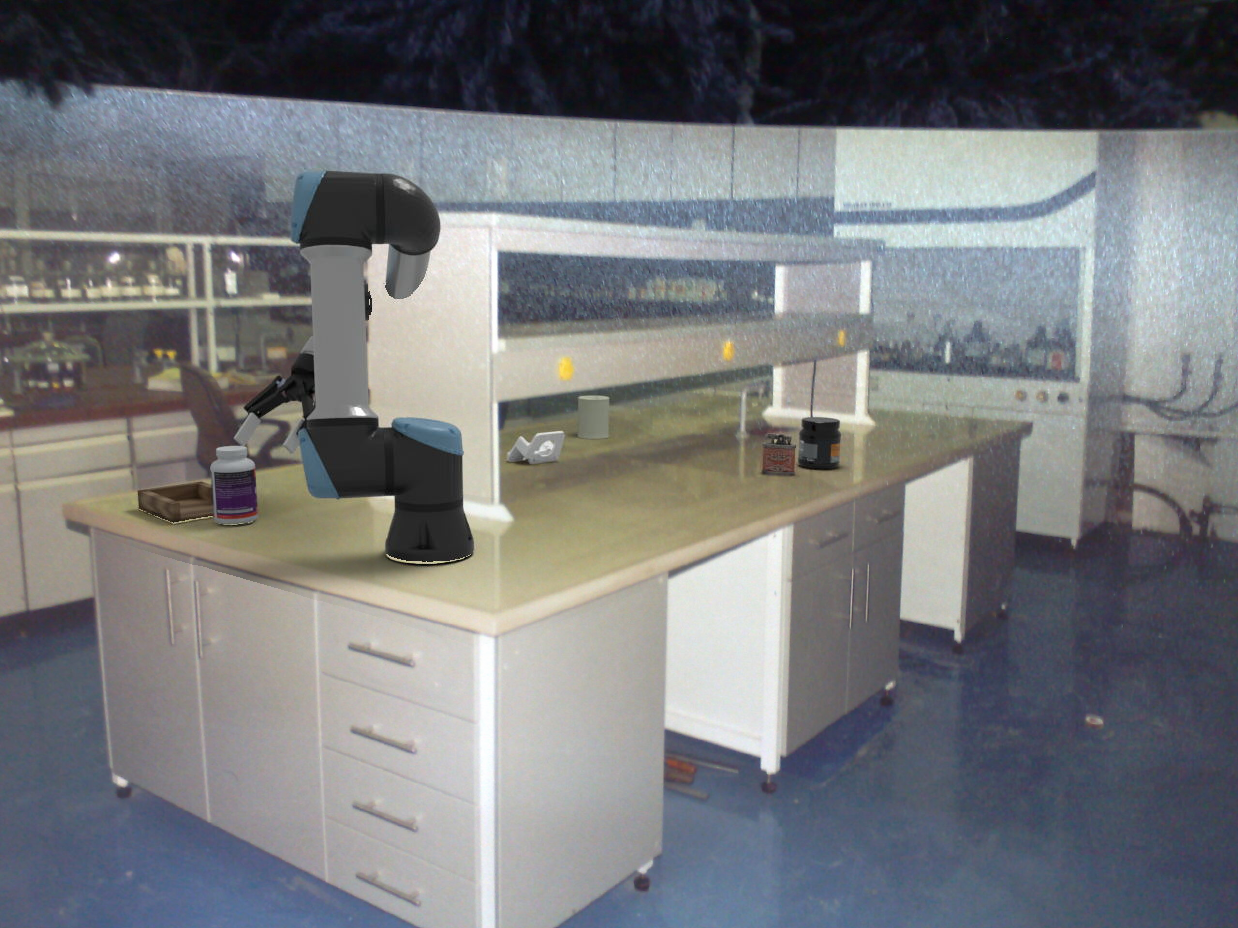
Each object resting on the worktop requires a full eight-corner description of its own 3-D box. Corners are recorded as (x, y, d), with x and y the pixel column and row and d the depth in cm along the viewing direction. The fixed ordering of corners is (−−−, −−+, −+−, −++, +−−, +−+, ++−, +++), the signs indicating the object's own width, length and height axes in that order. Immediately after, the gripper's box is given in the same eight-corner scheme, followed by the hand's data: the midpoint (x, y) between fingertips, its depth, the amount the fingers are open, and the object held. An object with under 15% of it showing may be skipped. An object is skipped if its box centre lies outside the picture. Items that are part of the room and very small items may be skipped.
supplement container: (846, 466, 265) (849, 419, 262) (826, 472, 257) (829, 424, 254) (810, 460, 271) (812, 415, 269) (789, 466, 263) (791, 419, 261)
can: (585, 440, 297) (586, 398, 295) (572, 435, 306) (572, 394, 303) (614, 438, 302) (615, 397, 299) (600, 433, 310) (600, 393, 307)
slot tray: (238, 513, 206) (237, 493, 205) (173, 524, 197) (171, 503, 196) (202, 500, 217) (201, 481, 216) (138, 510, 208) (137, 490, 207)
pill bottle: (266, 522, 200) (262, 448, 197) (226, 529, 194) (222, 453, 191) (244, 515, 205) (240, 443, 202) (205, 522, 199) (201, 448, 196)
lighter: (795, 473, 254) (797, 433, 252) (794, 476, 251) (796, 435, 249) (762, 471, 256) (764, 431, 254) (760, 474, 253) (762, 433, 251)
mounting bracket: (516, 472, 260) (525, 436, 255) (503, 459, 264) (513, 423, 259) (555, 467, 267) (565, 432, 262) (543, 454, 271) (553, 419, 266)
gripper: (371, 379, 211) (320, 463, 201) (283, 371, 223) (230, 450, 213) (352, 354, 205) (298, 440, 195) (262, 348, 217) (207, 428, 207)
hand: (262, 446), depth 204 cm, fingers open, 13 cm apart
